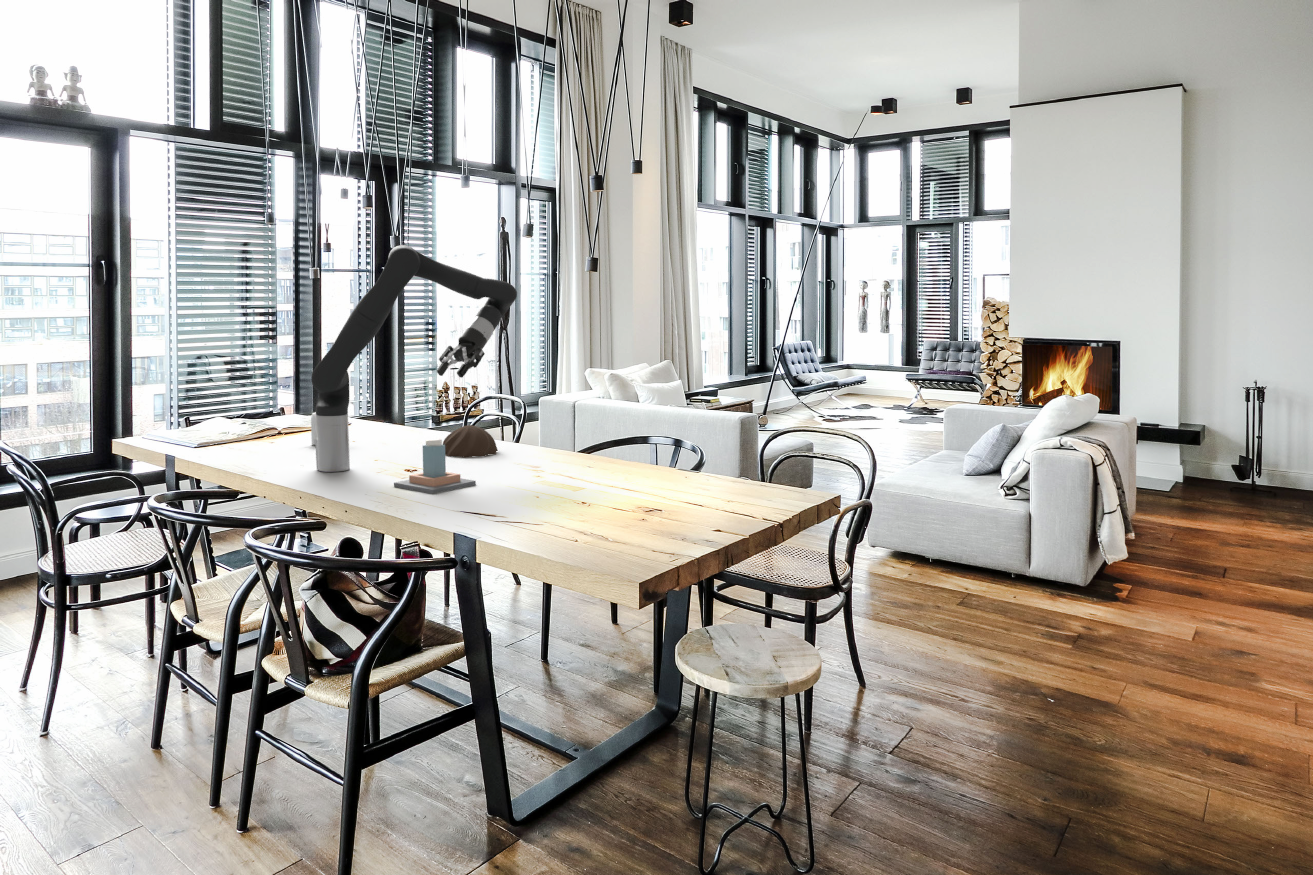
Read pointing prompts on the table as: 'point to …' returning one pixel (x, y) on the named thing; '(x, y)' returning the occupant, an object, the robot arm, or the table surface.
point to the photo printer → (313, 428)
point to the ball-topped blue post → (434, 458)
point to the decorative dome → (469, 442)
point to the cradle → (434, 483)
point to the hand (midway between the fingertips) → (449, 374)
